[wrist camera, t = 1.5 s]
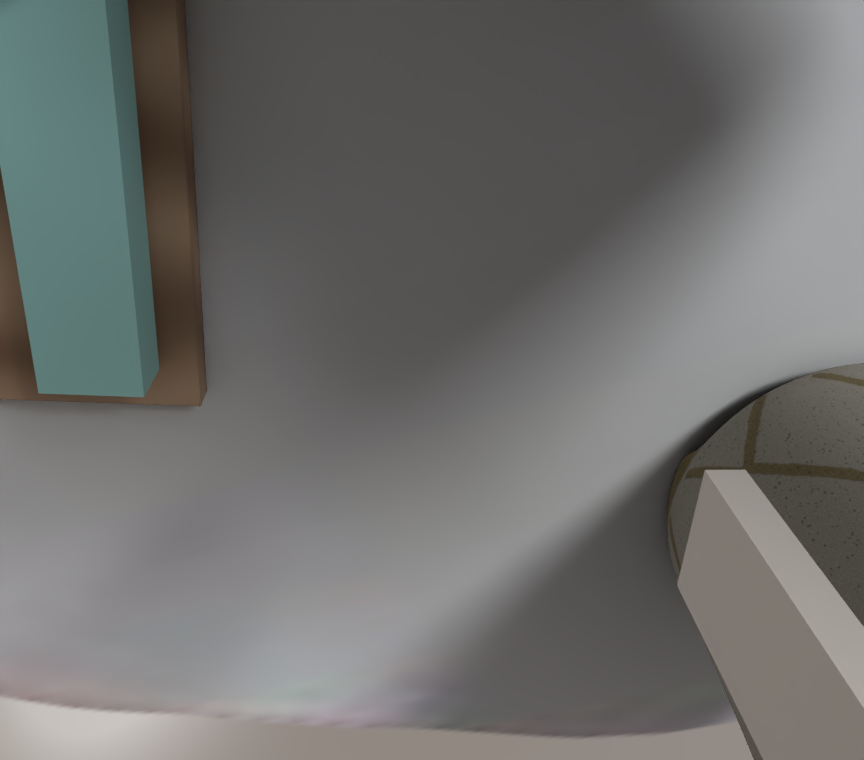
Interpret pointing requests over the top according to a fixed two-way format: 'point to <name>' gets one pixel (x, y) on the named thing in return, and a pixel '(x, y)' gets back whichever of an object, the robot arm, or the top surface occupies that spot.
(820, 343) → the top surface
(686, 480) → the planter
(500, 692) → the top surface
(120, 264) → the latch bar
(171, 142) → the pivot board
